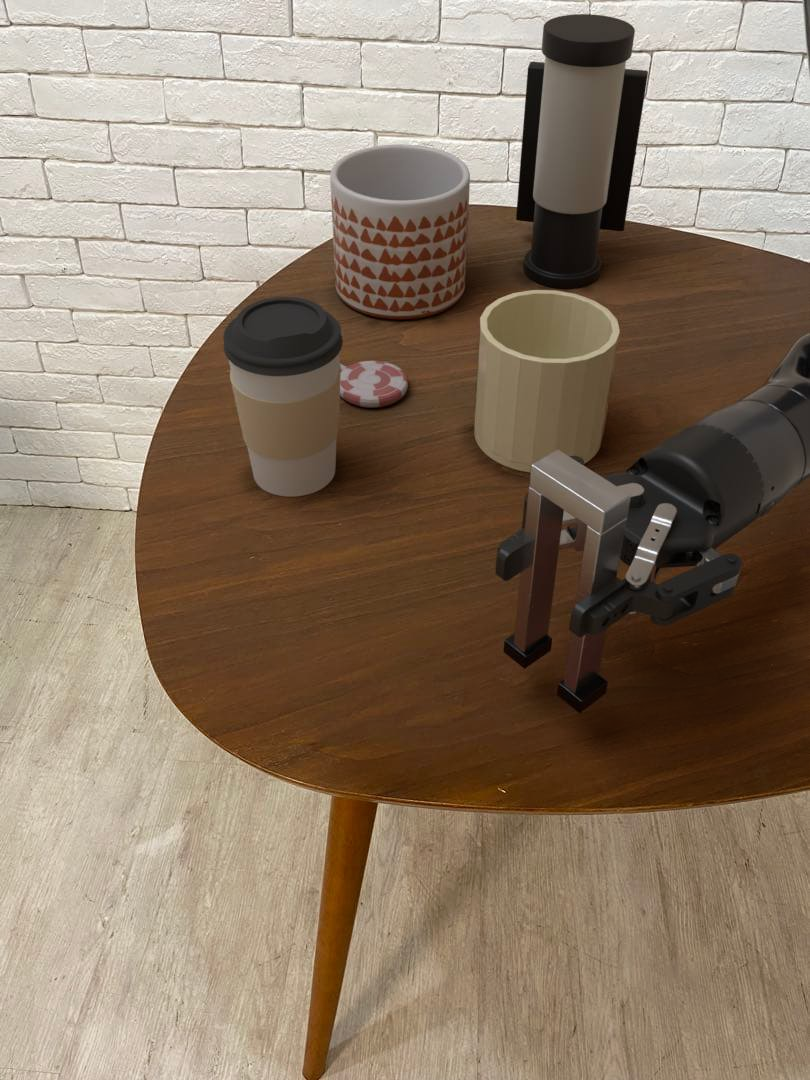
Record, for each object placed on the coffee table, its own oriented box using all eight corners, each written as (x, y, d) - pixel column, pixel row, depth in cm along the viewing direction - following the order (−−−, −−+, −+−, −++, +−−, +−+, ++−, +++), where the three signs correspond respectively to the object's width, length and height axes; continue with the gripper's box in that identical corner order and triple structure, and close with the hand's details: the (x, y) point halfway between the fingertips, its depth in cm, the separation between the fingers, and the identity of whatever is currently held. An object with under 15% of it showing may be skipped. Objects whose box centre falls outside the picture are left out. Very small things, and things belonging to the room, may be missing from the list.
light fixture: (500, 282, 112) (518, 36, 95) (515, 236, 120) (534, 2, 103) (614, 295, 110) (652, 46, 93) (621, 247, 118) (658, 10, 101)
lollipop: (308, 320, 104) (422, 377, 97) (308, 329, 105) (422, 386, 97) (258, 347, 100) (373, 408, 93) (260, 356, 101) (374, 418, 94)
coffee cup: (231, 449, 91) (210, 293, 80) (333, 430, 93) (324, 276, 82) (252, 515, 84) (231, 355, 74) (360, 493, 86) (355, 335, 76)
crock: (613, 411, 95) (631, 303, 87) (586, 485, 87) (603, 373, 80) (493, 387, 98) (501, 280, 90) (457, 457, 90) (462, 346, 82)
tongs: (503, 652, 69) (519, 459, 58) (529, 633, 70) (550, 441, 60) (579, 714, 65) (612, 520, 55) (606, 693, 66) (643, 500, 56)
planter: (334, 323, 106) (328, 202, 97) (336, 258, 116) (331, 144, 107) (469, 320, 106) (475, 200, 98) (460, 256, 116) (464, 142, 108)
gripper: (640, 381, 70) (454, 485, 62) (829, 483, 62) (642, 618, 54) (625, 469, 75) (451, 576, 67) (797, 574, 67) (622, 710, 59)
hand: (537, 594), depth 61 cm, fingers closed on tongs, 5 cm apart
